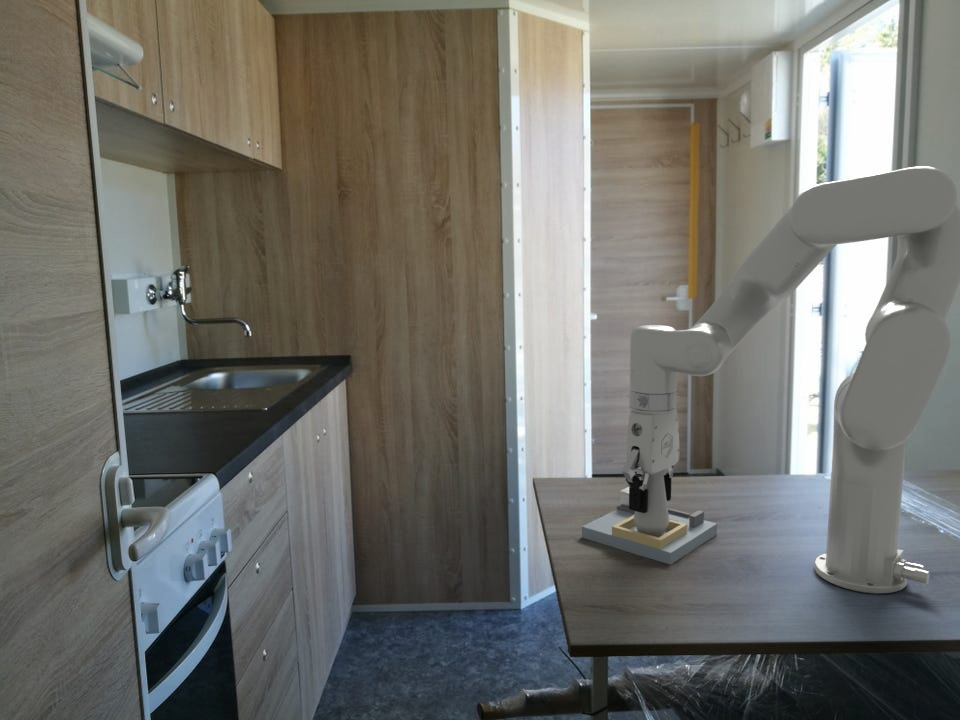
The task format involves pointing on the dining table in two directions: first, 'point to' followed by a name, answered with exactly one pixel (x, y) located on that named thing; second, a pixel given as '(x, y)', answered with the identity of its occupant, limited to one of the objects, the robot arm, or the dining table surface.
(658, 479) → the salt shaker
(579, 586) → the dining table surface
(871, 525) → the robot arm
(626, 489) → the cover
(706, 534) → the base
